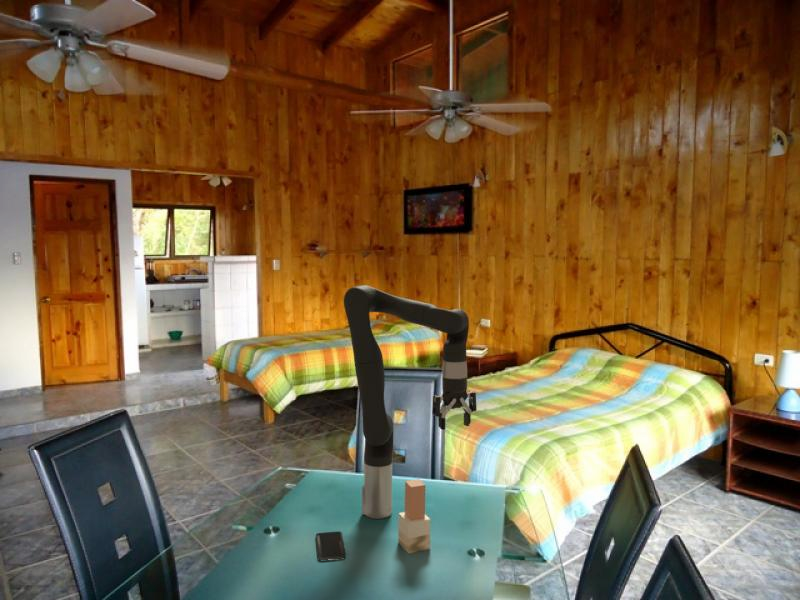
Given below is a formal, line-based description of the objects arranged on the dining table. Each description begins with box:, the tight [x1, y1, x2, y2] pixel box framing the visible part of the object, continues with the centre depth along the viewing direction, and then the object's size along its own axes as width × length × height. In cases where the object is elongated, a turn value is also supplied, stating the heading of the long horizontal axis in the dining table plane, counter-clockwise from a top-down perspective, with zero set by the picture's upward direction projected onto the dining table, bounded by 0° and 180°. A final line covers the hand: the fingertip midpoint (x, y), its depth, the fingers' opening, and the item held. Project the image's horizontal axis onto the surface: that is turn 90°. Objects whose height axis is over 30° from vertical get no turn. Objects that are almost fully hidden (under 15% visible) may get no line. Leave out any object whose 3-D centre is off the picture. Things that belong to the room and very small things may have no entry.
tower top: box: [398, 511, 431, 538], centre depth 168 cm, size 7×7×4 cm
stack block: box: [404, 478, 426, 521], centre depth 168 cm, size 4×4×10 cm
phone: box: [315, 531, 347, 561], centre depth 167 cm, size 8×1×15 cm
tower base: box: [397, 527, 431, 554], centre depth 169 cm, size 7×7×4 cm
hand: (454, 427), depth 176 cm, fingers open, 8 cm apart
